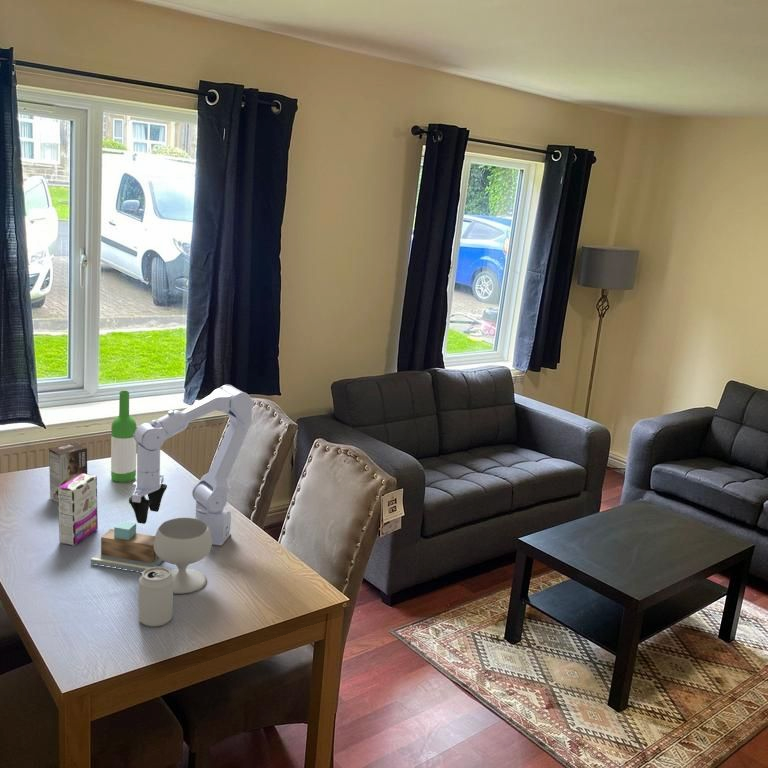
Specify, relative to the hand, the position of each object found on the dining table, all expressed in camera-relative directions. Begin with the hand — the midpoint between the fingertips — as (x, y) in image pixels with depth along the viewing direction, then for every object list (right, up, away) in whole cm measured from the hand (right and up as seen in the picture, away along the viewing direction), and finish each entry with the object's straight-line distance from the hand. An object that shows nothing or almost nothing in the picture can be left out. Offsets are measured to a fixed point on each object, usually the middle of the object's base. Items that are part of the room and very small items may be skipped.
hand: (148, 516), depth 195 cm
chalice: (+12, -15, -11) cm, 22 cm away
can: (+10, -19, -27) cm, 35 cm away
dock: (-4, -11, -2) cm, 12 cm away
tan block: (-4, -9, -3) cm, 10 cm away
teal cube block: (-5, -4, -4) cm, 7 cm away
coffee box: (-34, 0, +30) cm, 46 cm away
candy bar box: (-22, -7, +7) cm, 24 cm away
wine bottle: (-23, +4, +47) cm, 53 cm away
